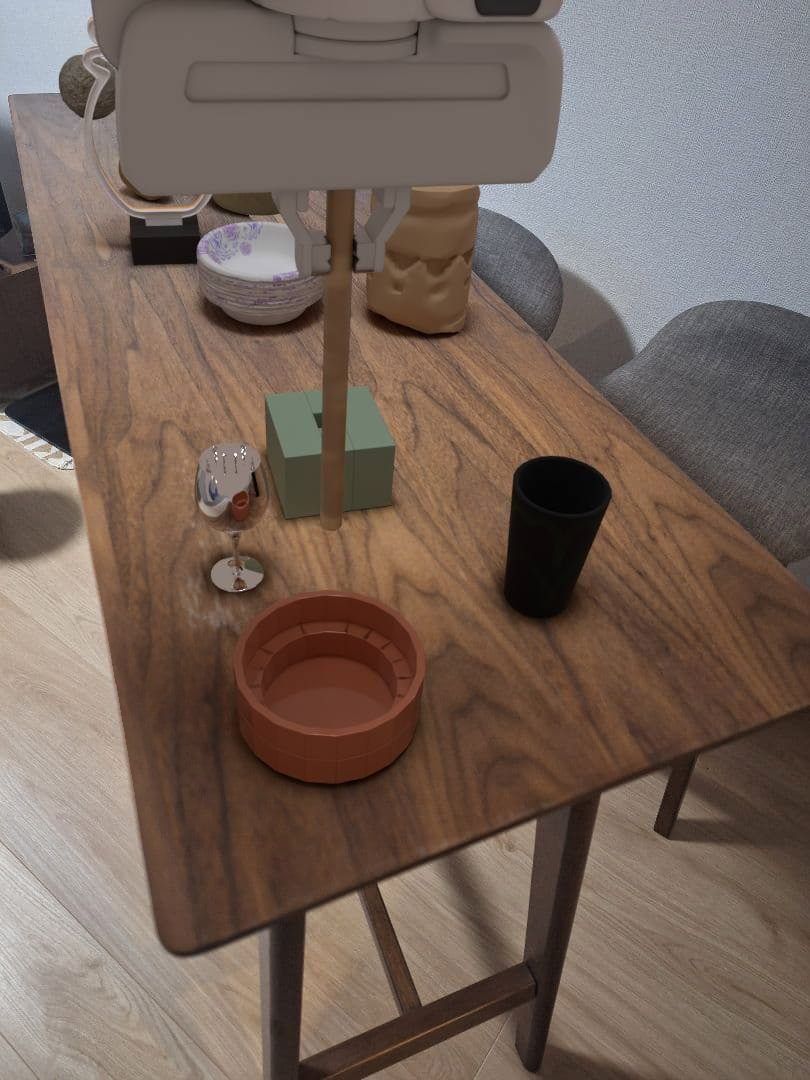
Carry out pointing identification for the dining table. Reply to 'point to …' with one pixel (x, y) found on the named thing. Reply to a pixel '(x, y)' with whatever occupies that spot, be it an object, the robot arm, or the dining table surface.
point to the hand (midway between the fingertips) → (339, 270)
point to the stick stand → (299, 451)
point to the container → (428, 261)
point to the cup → (551, 531)
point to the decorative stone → (86, 87)
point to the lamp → (151, 228)
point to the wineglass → (232, 507)
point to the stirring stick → (336, 353)
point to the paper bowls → (255, 273)
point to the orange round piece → (328, 685)
